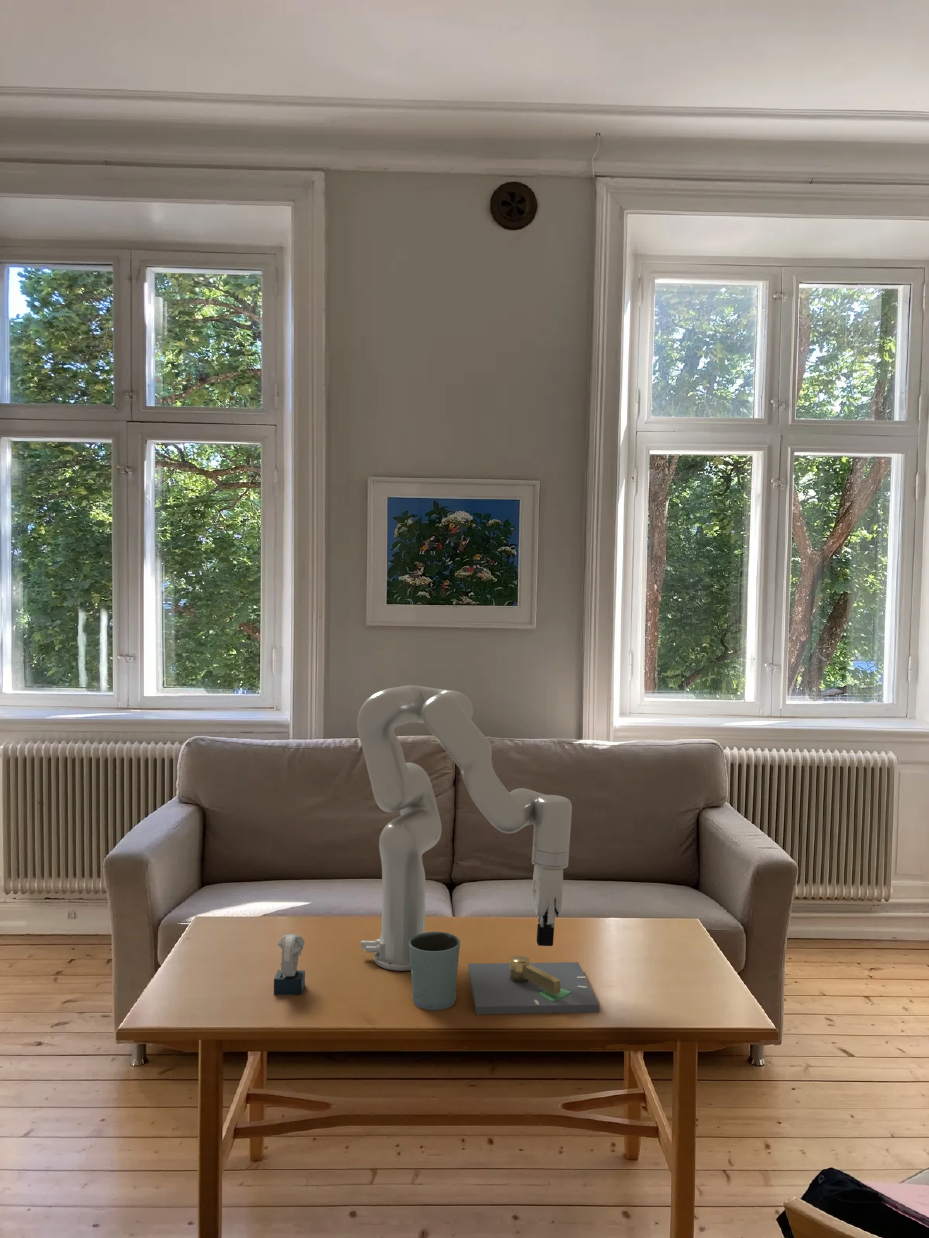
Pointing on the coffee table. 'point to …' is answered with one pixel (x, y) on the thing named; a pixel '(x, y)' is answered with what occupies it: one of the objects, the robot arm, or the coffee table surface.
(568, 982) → the dial plate
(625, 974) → the coffee table surface
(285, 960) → the grey and black figurine
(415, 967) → the teal cup
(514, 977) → the needle
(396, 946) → the robot arm
